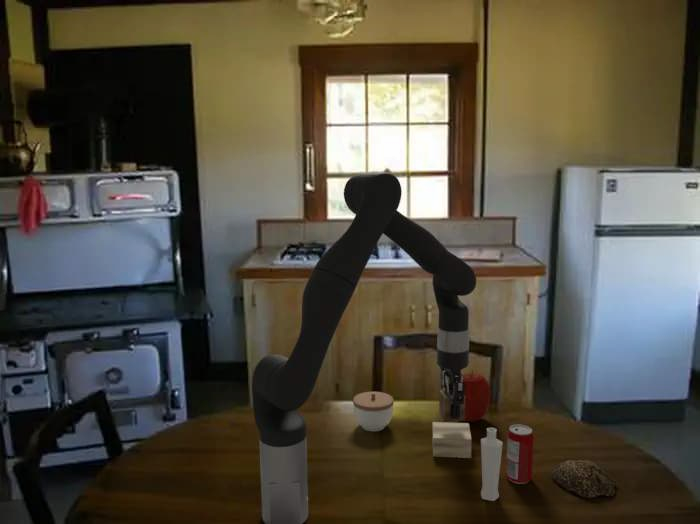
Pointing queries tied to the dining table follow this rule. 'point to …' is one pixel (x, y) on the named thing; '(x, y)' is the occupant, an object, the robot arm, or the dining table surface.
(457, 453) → the birch block
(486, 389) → the apple
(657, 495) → the dining table surface
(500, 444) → the perfume bottle
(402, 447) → the dining table surface
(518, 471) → the soda can
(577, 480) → the bread roll
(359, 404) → the lidded jar
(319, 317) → the robot arm
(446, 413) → the walnut block
